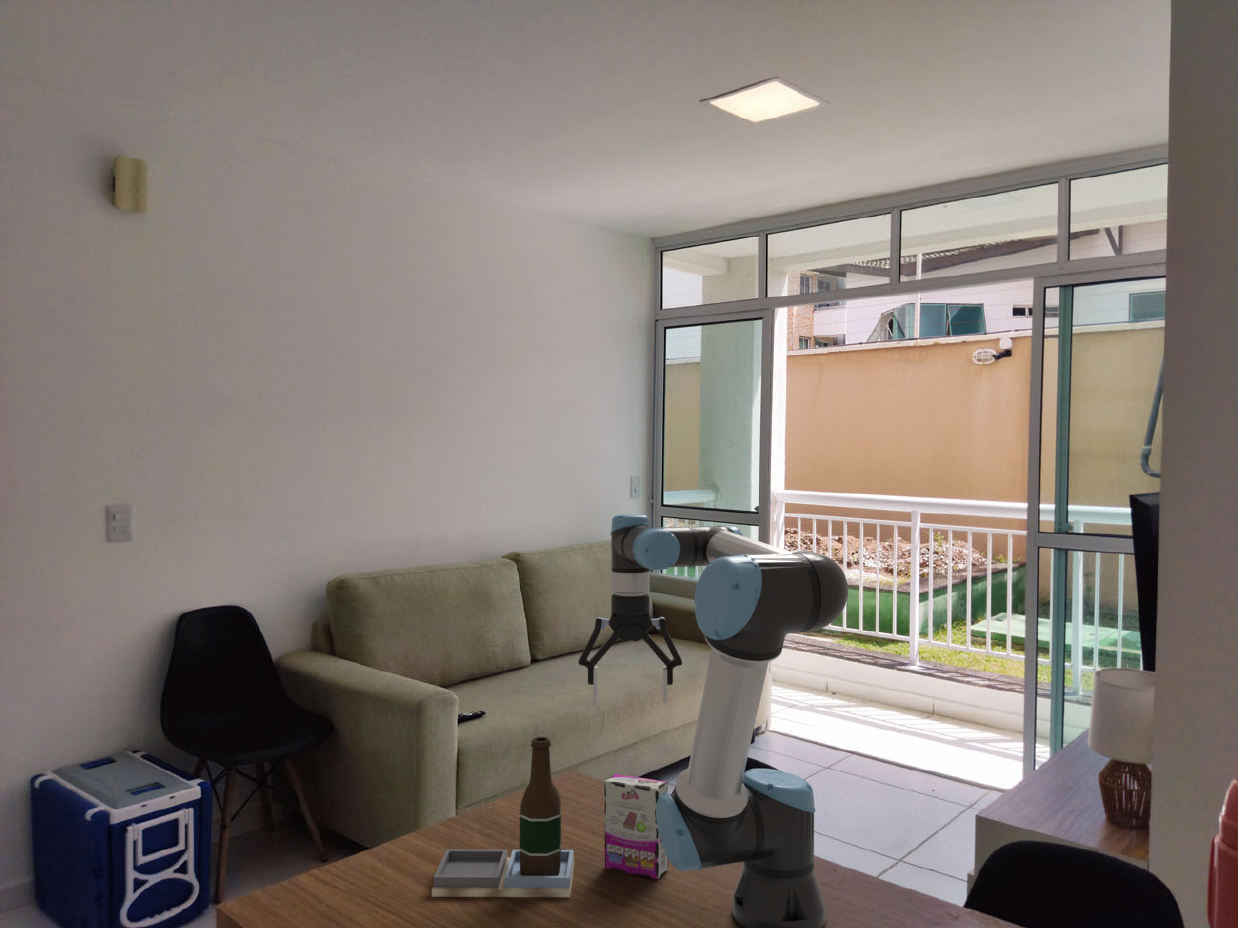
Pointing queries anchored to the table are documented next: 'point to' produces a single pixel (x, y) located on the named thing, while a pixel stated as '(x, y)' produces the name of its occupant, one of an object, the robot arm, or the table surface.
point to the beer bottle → (540, 817)
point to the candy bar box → (633, 826)
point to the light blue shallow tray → (518, 881)
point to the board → (503, 890)
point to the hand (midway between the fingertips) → (630, 701)
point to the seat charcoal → (470, 869)
